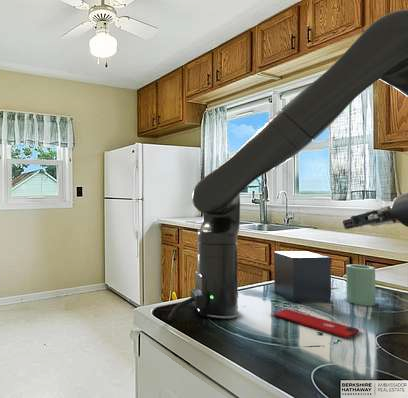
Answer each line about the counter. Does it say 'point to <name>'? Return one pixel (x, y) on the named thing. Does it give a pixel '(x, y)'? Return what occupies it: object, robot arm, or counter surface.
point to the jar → (360, 284)
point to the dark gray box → (302, 276)
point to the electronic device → (317, 323)
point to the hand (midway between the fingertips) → (358, 223)
